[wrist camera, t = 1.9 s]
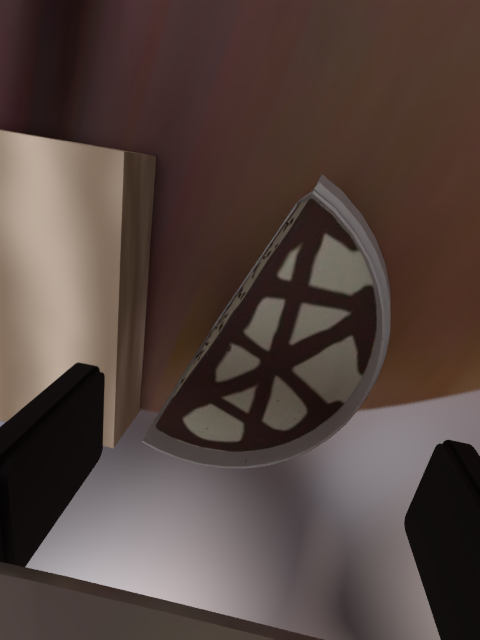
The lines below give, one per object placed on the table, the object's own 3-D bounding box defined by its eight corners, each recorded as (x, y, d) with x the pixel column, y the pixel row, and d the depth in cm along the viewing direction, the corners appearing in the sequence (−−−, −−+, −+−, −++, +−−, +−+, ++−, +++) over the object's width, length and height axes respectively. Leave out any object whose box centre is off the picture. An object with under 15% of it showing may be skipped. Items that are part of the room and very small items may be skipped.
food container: (277, 397, 25) (261, 528, 15) (199, 346, 24) (135, 450, 15) (408, 241, 20) (498, 297, 11) (314, 175, 20) (325, 173, 10)
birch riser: (156, 156, 20) (123, 151, 17) (139, 411, 27) (113, 448, 23) (-74, 116, 22) (-152, 104, 18) (-38, 369, 28) (-90, 398, 24)
